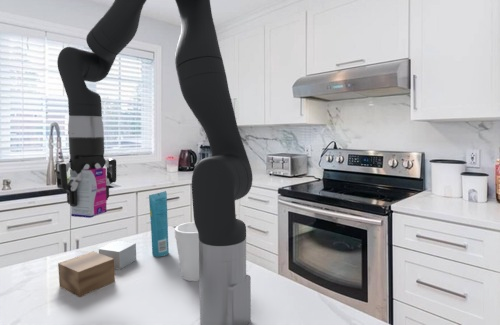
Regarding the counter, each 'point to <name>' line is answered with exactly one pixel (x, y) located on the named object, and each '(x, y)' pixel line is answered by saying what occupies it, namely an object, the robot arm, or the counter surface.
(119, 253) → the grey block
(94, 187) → the supplement box
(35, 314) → the counter surface
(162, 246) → the tube
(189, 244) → the foam cup
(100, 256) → the walnut block
